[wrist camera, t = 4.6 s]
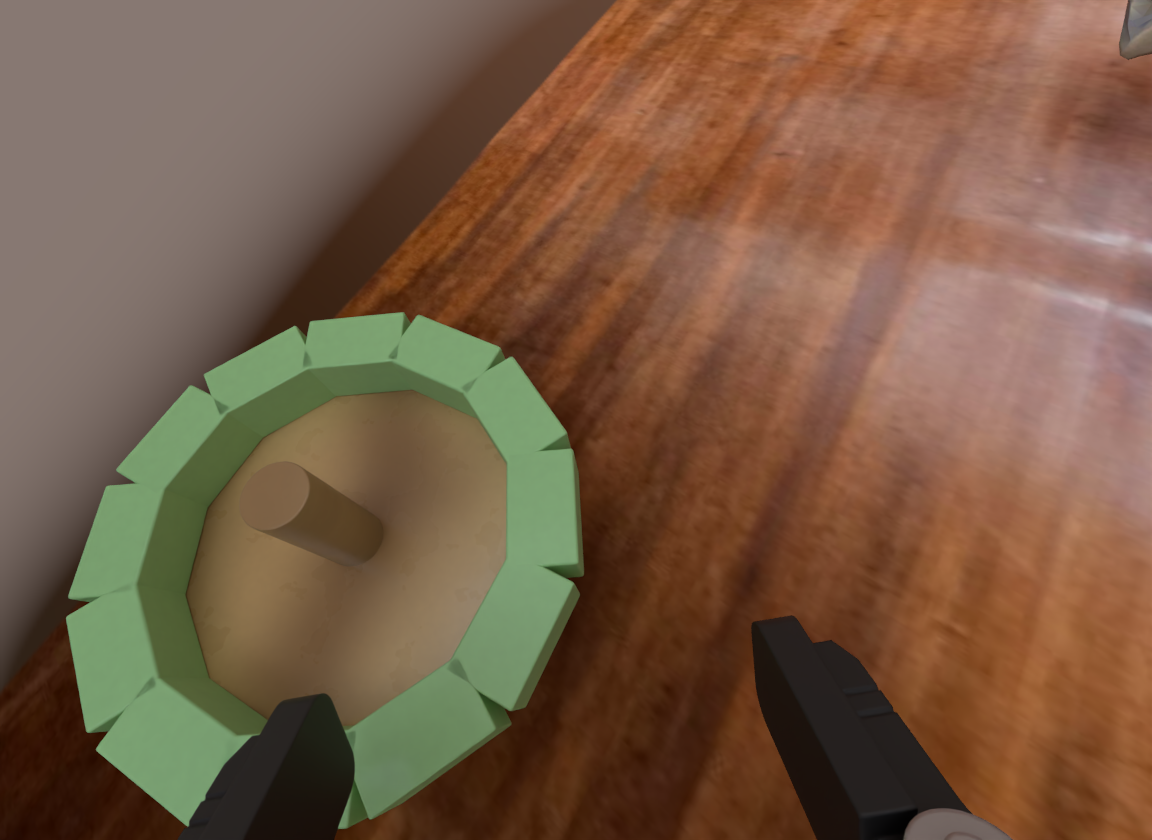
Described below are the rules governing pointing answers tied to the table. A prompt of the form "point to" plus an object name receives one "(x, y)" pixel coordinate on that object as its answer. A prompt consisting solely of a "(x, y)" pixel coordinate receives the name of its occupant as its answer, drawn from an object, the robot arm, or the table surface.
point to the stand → (349, 553)
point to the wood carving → (1137, 29)
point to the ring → (173, 528)
